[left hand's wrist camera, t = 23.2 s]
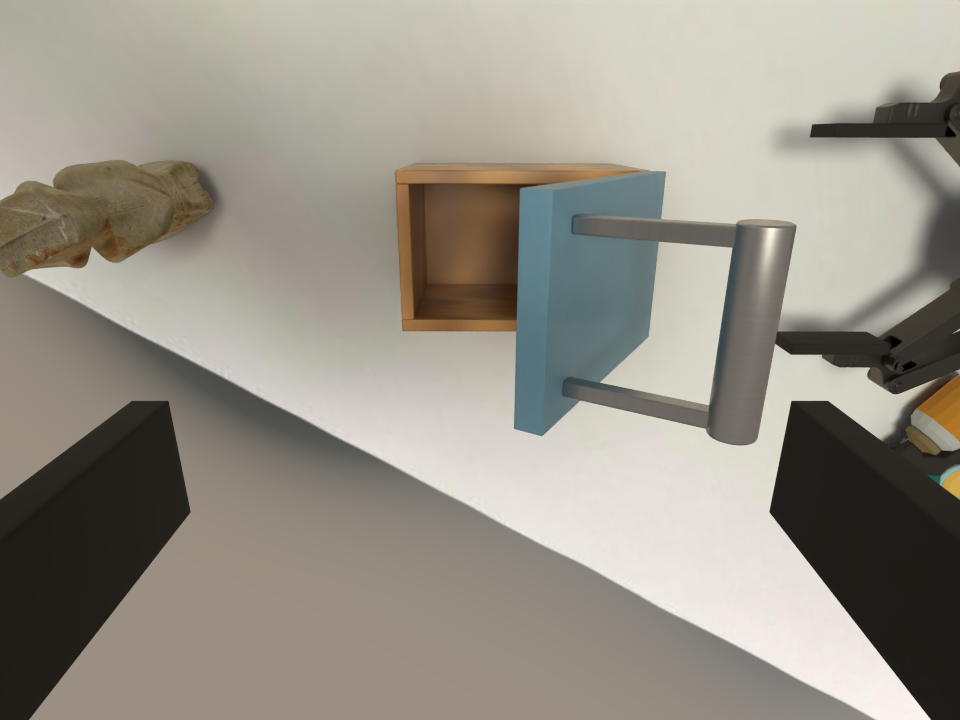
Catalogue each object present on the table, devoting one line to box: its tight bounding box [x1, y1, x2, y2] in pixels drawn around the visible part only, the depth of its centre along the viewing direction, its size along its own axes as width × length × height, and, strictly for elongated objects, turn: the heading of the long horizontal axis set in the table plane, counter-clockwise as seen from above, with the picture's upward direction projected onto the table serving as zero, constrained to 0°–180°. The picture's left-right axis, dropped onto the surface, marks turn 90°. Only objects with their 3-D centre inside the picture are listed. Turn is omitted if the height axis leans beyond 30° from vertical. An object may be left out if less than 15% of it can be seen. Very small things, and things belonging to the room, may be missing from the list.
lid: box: [514, 171, 796, 445], centre depth 27 cm, size 15×10×9 cm
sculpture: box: [0, 160, 213, 277], centre depth 37 cm, size 6×7×15 cm
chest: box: [395, 163, 649, 331], centre depth 40 cm, size 14×10×10 cm, turn 90°
